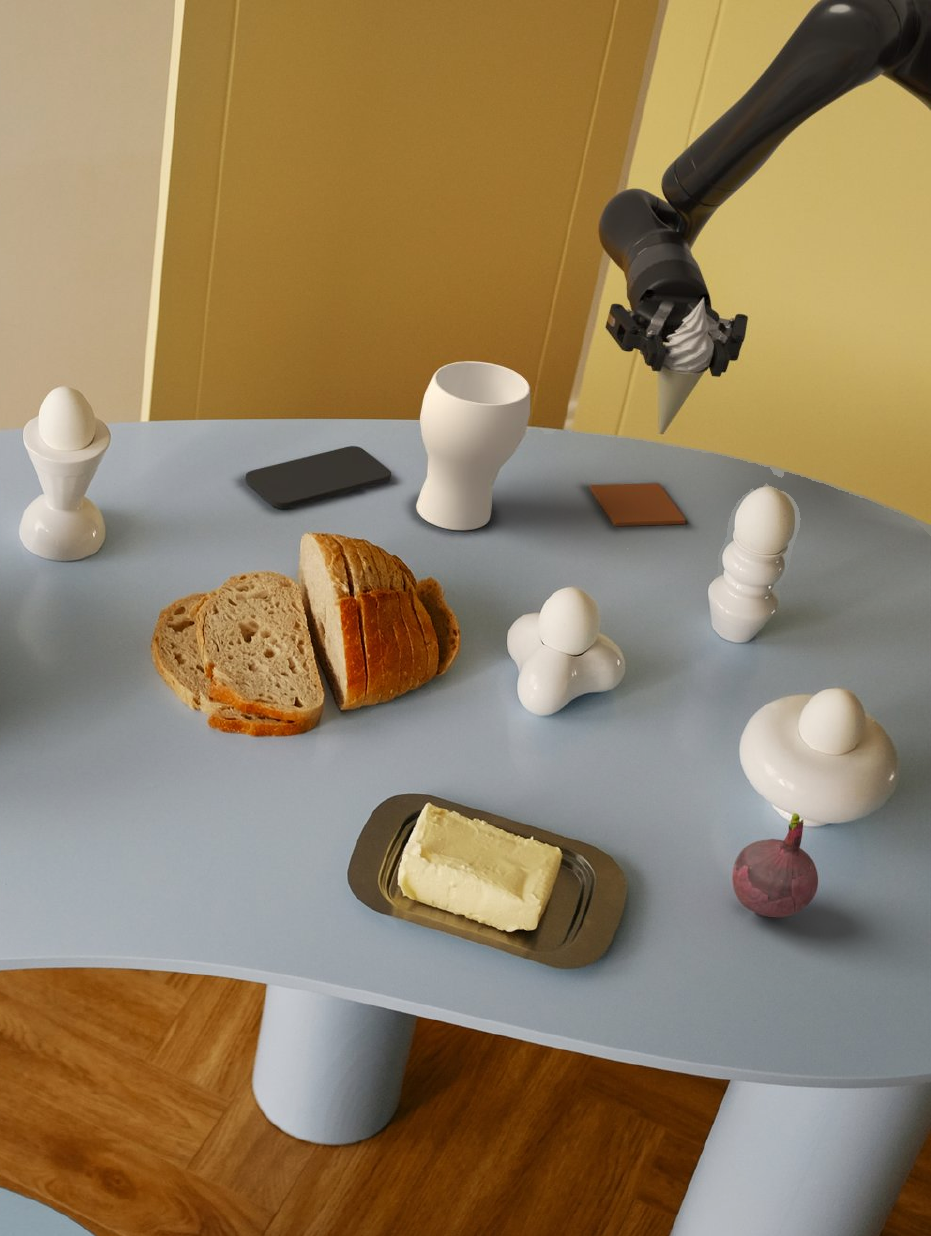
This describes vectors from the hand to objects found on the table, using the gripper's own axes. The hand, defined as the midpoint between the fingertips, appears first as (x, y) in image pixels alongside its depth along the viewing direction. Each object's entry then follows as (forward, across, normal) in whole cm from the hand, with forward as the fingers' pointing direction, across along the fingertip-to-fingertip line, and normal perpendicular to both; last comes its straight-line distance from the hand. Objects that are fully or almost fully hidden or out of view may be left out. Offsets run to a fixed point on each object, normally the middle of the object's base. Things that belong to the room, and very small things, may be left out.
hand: (689, 365), depth 162 cm
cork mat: (-2, 0, +18) cm, 18 cm away
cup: (+2, -20, +18) cm, 27 cm away
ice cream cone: (-3, 0, +9) cm, 10 cm away
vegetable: (+59, +2, +17) cm, 61 cm away
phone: (-1, -34, +18) cm, 38 cm away
